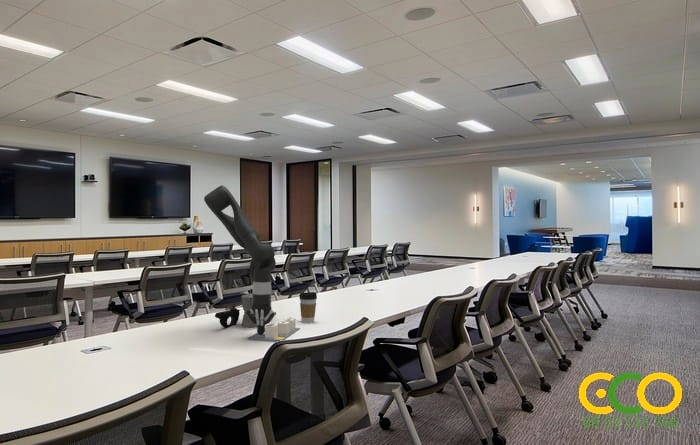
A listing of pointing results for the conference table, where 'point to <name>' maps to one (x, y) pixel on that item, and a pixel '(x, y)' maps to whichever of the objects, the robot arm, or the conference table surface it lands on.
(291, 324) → the white studded block
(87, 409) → the conference table surface
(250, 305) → the coffeepot
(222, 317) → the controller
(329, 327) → the conference table surface
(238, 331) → the conference table surface
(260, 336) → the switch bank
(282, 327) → the cream white block
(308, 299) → the coffee cup
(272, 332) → the white toy brick
